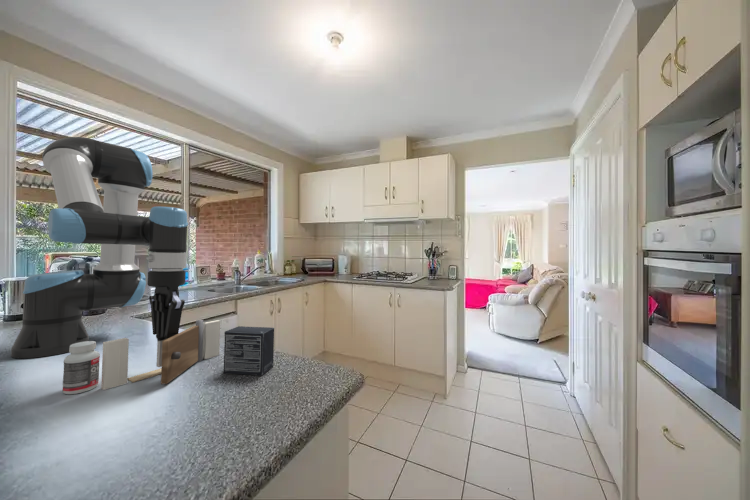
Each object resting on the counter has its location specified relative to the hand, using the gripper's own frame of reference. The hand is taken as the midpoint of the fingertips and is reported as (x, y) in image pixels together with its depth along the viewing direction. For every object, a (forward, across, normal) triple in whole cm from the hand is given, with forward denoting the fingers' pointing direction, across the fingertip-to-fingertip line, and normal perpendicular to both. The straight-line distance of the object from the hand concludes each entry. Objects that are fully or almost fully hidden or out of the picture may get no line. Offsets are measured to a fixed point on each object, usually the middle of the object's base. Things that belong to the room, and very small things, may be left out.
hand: (164, 364), depth 69 cm
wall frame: (+2, -1, +2) cm, 3 cm away
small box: (+2, +16, +13) cm, 20 cm away
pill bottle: (+2, -5, -13) cm, 14 cm away
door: (+1, +4, +2) cm, 5 cm away
